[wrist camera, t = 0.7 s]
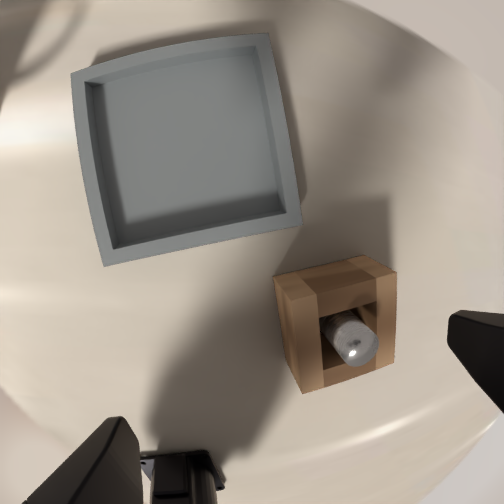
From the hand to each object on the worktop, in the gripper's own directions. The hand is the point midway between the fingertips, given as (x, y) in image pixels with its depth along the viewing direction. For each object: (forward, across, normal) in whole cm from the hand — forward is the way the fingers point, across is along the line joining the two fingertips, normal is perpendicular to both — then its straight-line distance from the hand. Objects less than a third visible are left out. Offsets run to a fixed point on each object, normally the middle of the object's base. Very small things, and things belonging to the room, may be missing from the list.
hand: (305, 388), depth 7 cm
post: (+13, -5, +5) cm, 14 cm away
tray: (+12, +2, -7) cm, 15 cm away
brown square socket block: (+13, -5, +5) cm, 14 cm away
